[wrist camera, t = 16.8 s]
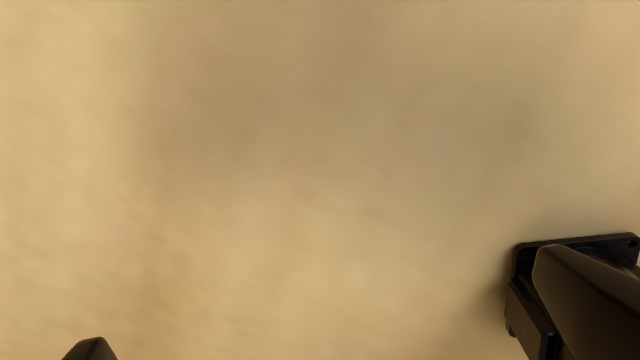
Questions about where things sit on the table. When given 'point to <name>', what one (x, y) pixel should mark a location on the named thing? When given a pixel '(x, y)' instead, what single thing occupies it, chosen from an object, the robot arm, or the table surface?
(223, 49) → the table surface
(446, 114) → the table surface
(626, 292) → the robot arm
